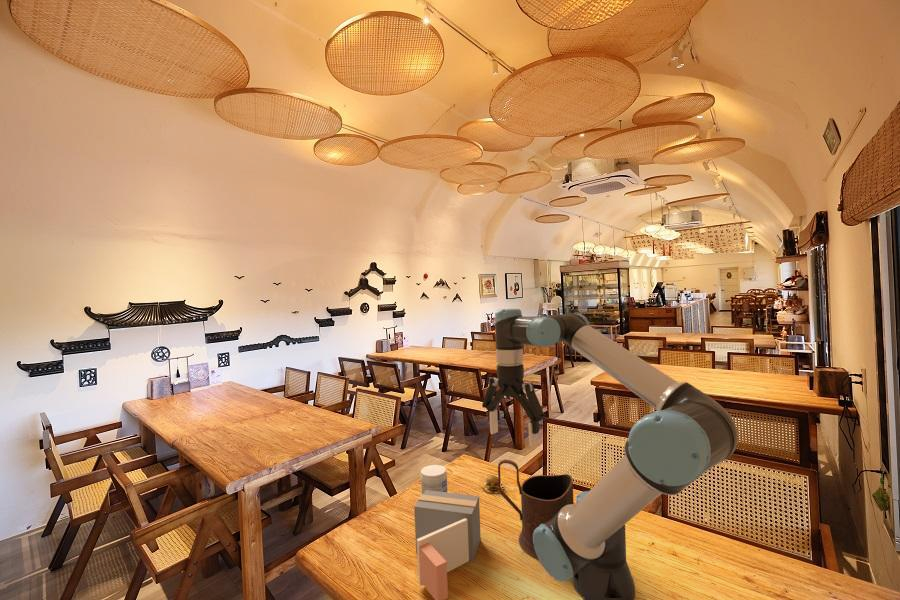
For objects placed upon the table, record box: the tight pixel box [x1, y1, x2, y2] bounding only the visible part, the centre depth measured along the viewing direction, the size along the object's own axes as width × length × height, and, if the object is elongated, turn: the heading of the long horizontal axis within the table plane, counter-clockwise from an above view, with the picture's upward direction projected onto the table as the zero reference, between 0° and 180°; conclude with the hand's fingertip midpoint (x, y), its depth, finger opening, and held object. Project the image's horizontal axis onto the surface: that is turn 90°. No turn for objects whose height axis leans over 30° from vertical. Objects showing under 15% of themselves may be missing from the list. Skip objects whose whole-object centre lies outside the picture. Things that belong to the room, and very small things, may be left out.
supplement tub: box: [420, 464, 449, 495], centre depth 136 cm, size 10×10×15 cm
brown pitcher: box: [497, 459, 575, 561], centre depth 117 cm, size 18×24×25 cm
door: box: [416, 518, 470, 600], centre depth 100 cm, size 16×10×12 cm, turn 123°
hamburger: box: [485, 474, 504, 494], centre depth 150 cm, size 12×12×6 cm
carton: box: [413, 490, 482, 563], centre depth 116 cm, size 18×10×14 cm, turn 73°
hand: (512, 438), depth 105 cm, fingers open, 13 cm apart
